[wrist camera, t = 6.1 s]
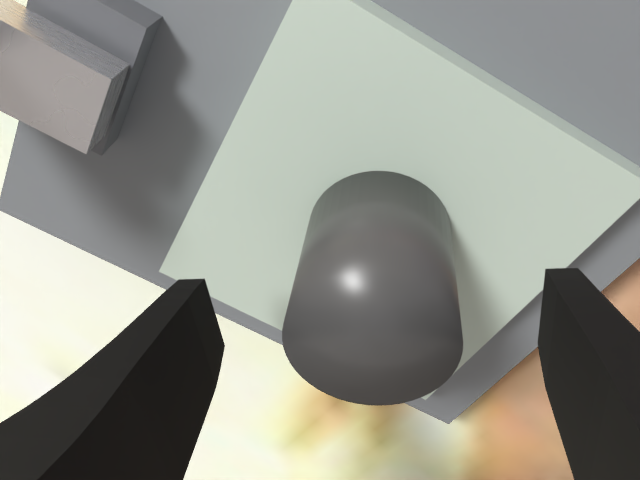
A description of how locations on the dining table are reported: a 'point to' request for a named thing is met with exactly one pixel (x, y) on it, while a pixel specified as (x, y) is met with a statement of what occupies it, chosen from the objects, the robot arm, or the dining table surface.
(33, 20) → the bolt
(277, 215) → the lid
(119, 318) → the dining table surface
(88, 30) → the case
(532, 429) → the dining table surface
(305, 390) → the dining table surface
